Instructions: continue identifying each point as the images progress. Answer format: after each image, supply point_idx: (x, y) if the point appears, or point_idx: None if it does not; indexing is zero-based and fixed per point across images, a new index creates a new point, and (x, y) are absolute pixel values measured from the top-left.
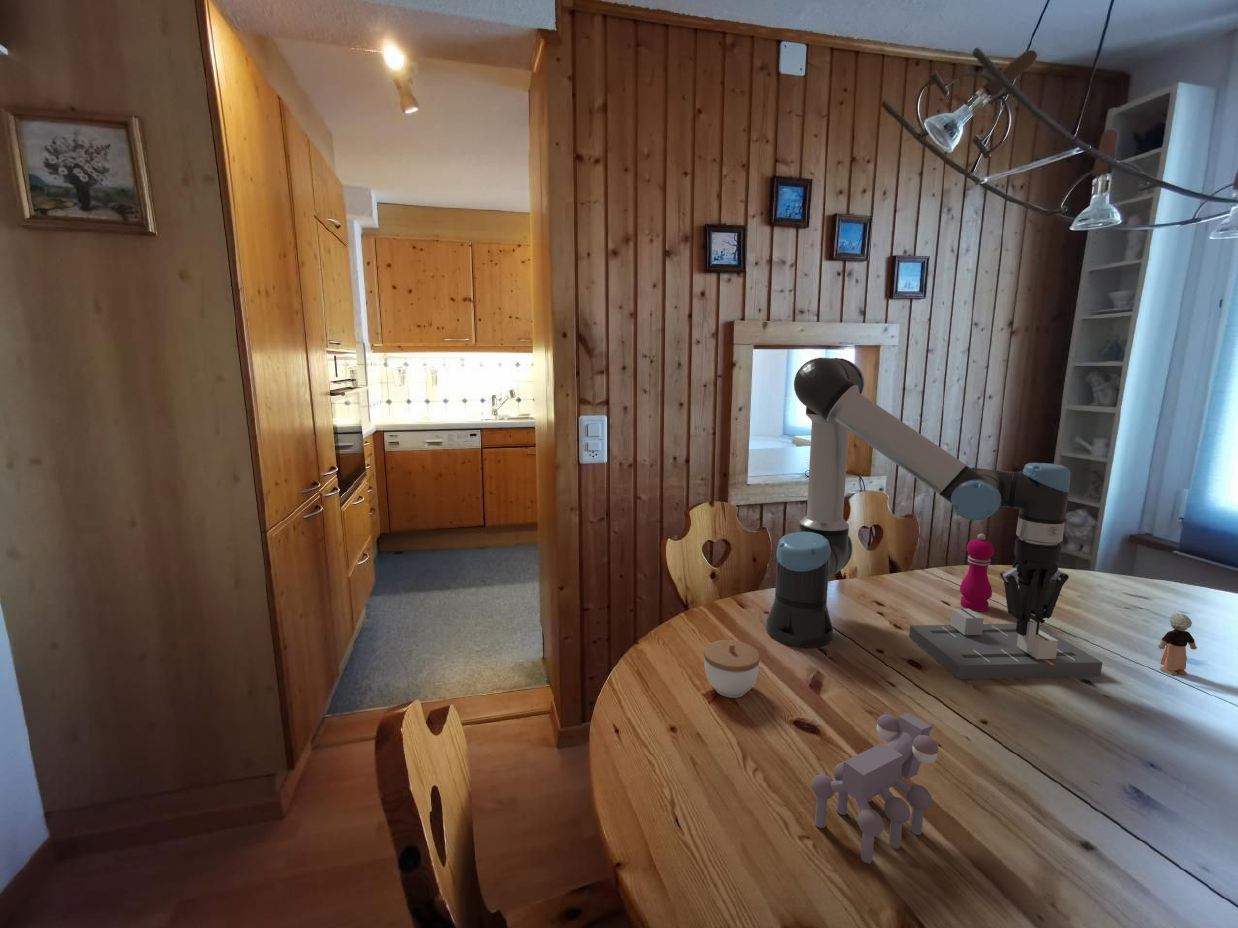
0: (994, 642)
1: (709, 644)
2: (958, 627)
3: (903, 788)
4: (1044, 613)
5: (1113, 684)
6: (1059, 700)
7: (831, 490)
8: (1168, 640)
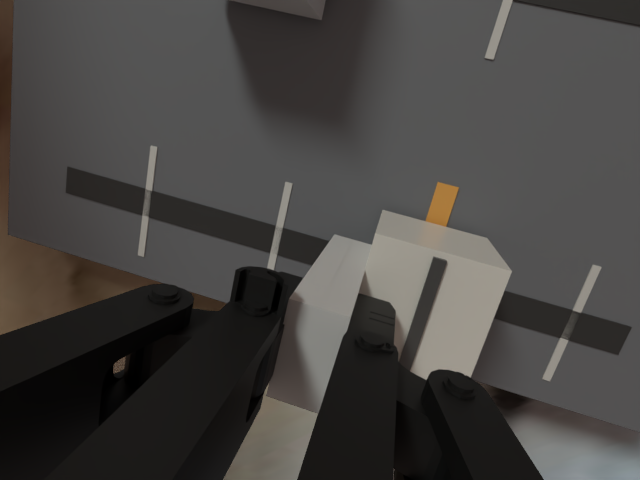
0: (328, 109)
1: None
2: None
3: None
4: (401, 473)
5: (593, 448)
6: (276, 426)
7: None
8: None
